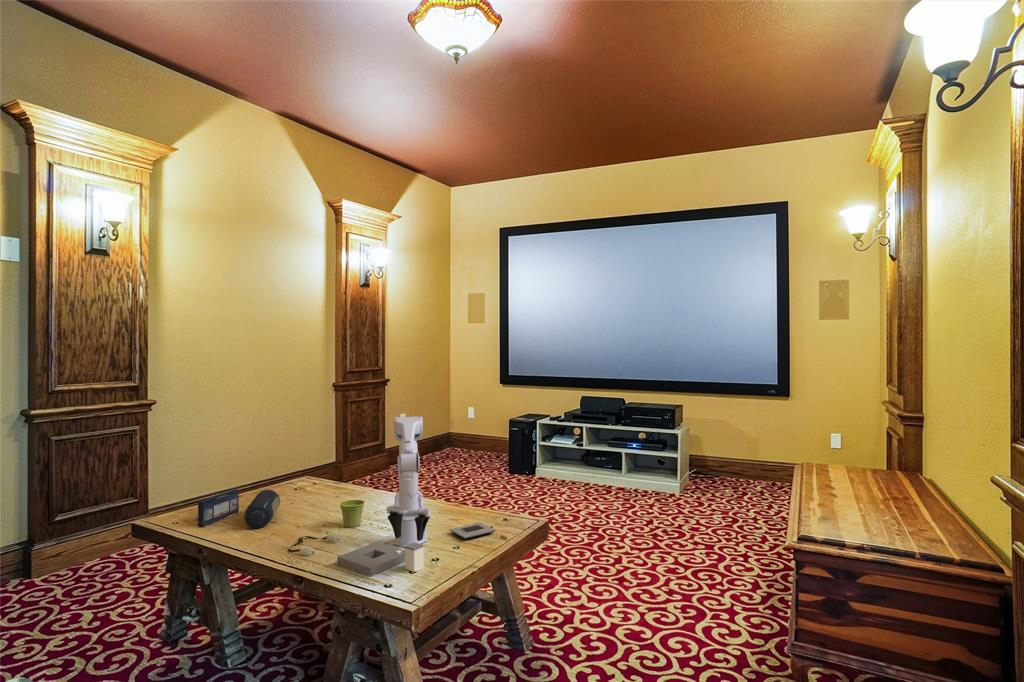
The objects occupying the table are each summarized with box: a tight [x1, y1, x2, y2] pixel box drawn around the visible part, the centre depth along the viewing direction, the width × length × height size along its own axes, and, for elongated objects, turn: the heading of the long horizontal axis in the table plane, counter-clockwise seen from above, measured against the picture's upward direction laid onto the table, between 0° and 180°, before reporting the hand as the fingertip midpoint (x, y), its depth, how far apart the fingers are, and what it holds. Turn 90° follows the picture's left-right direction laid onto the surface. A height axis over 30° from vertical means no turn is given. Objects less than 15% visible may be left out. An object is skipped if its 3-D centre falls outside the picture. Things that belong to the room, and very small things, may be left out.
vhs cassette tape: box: [197, 488, 240, 528], centre depth 224 cm, size 18×3×10 cm, turn 162°
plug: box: [404, 542, 425, 573], centre depth 175 cm, size 4×4×7 cm
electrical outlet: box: [449, 522, 497, 540], centre depth 206 cm, size 13×10×2 cm
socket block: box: [336, 541, 405, 577], centre depth 180 cm, size 16×16×3 cm
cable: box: [287, 532, 341, 557], centre depth 195 cm, size 16×16×4 cm
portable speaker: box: [244, 489, 281, 529], centre depth 223 cm, size 25×10×10 cm, turn 14°
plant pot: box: [338, 499, 366, 528], centre depth 216 cm, size 9×9×9 cm
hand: (409, 538), depth 172 cm, fingers open, 7 cm apart
